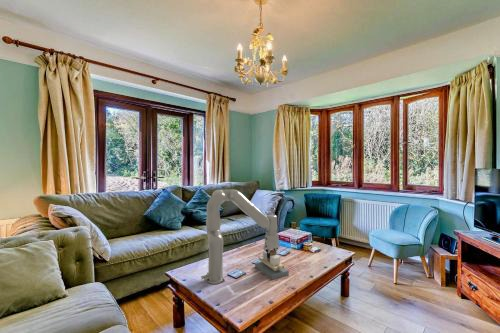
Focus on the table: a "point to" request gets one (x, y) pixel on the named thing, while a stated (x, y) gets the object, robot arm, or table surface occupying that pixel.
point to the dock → (271, 271)
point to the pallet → (267, 262)
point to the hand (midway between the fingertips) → (271, 256)
